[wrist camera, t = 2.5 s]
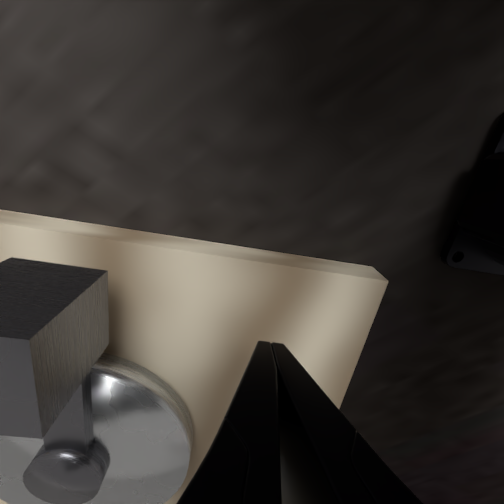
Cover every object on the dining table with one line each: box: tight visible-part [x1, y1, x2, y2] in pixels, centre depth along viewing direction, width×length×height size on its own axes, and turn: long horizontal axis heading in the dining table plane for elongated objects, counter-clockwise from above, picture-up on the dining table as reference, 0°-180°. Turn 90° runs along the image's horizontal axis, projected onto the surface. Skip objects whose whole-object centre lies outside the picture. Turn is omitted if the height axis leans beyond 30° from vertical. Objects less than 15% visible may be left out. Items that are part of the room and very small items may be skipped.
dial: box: [0, 257, 193, 504], centre depth 10 cm, size 14×10×5 cm
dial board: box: [0, 210, 389, 504], centre depth 14 cm, size 24×20×2 cm
